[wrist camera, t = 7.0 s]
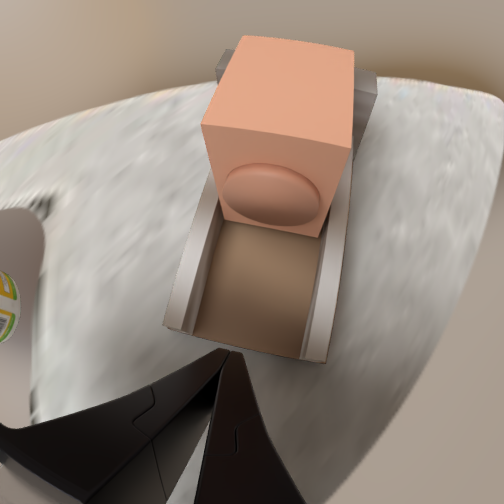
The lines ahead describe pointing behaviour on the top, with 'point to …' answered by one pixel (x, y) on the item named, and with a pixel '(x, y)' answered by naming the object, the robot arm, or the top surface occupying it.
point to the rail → (266, 267)
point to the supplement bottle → (8, 307)
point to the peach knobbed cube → (281, 132)
